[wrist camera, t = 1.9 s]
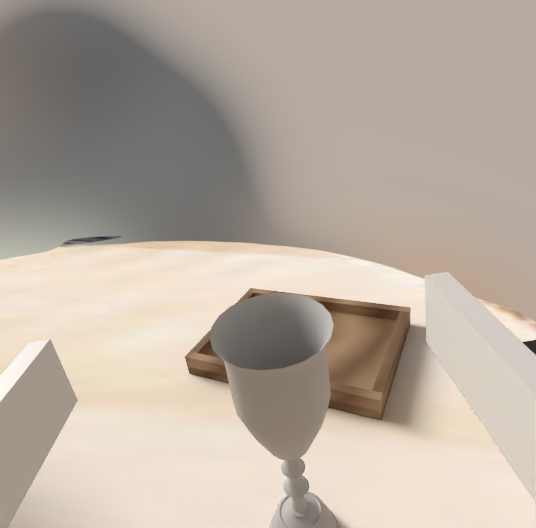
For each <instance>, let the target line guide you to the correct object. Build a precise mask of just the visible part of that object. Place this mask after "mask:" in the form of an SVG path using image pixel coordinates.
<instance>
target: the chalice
mask: <svg viewBox="0 0 536 528" xmlns="http://www.w3.org/2000/svg"><path fill="white" fill-rule="evenodd" d="M333 326H334V324H333V321H332V317H331V314H330V313H329V312H328V310H327V309H326V308H325V307H324V306H323V305H322V304H320V303H319V302H317V301H315V300H313V299H311V298H309V297H305V296H301V295H298V294H290V293H272V294H263V295H259V296H255V297H252V298H248V299H245V300H243V301H241V302H239V303H237V304H235V305H233V306H231V307H230V308H228V309H227V310H226V311H225V312H224V313H222V314H221V315H220V316H219V317H218V319H217V320H216V322H215V323H214V325H213V326H212V329H211V334H210V342H211V345H212V348H213V350H214V351H215V353H216V354H217V355H218V356H219V357H220V358H221V359H222V360H223V361H224V363H225V367H226V372H227V376H228V381H229V385H230V390H231V394H232V398H233V403H234V406H235V409H236V412H237V415H238V416H239V418H240V419H241V420H242V422H243V423H244V424H245V426H246V427H247V429H248V430H249V431H250V433H251V434H252V435H253V436H254V437H255V438H256V440H257V441H258V442H259V443H261V444H262V445H263V446H264V447H265V448H266V449H267V450H268V451H270V452H271V453H272V454H273V455H274V456H276V457H277V458H279V459H282V460H284V462H283V463H282V472H283V474H284V475H285V476H287V477H288V478H287V479H286V480H285V482H284V491H285V493H286V494H287V496H285V497H284V498H283V499H282V500H281V501H280V503H279V504H278V506H277V509H276V511H275V514H274V516H273V518H272V521H271V524H270V528H337V522H336V520H335V518H334V516H333V513H332V512H331V511H330V510H329V509H328V508H327V506H326V505H325V504H324V503H323V502H322V501H321V500H320V498H319V497H318V496H316V495H314V494H313V493H311V492H308V489H309V483H308V481H307V479H306V478H305V477H304V476H302V474H303V472H304V470H305V464H304V462H303V460H302V459H300V457H301V456H303V455H304V454H305V453H306V452H307V450H308V449H309V447H310V445H311V444H312V442H313V440H314V439H315V437H316V435H317V433H318V432H319V430H320V428H321V426H322V424H323V421H324V418H325V415H326V412H327V409H328V406H329V401H330V396H331V391H330V381H329V370H328V359H327V348H326V346H327V344H328V342H329V340H330V338H331V335H332V331H333Z"/></svg>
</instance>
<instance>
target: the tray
mask: <svg viewBox="0 0 536 528" xmlns="http://www.w3.org/2000/svg"><path fill="white" fill-rule="evenodd" d="M272 293H285V292H277V291H269V290H260V289H252V288H250V290H249V291H248V292H247V293H246V294H245V295H244V296H243V297H242V298H241V299H240V300H239V301H238V302H237V303H239V302H241V301H243V300H245V299H248V298H252V297H255V296H259V295H263V294H272ZM290 294H293V293H290ZM298 295H301V296H305V297H309V298H311V299H313V300H315V301H317V302H319V303H320V304H322V305H323V306H324V307H325V308H326V309H327V310H328V312H329V313H330V314H331V317H332V321H333V324H334V326H333V331H332V335H331V338H330V340H329V342H328V344H327V346H326V348H327V359H328V370H329V381H330V391H331V396H330V401H329V406H328V407H330V408H334V409H338V410H342V411H346V412H350V413H354V414H358V415H363V416H367V417H371V418H375V419H379V420H381V419H382V415H383V412H384V409H385V405H386V402H387V399H388V395H389V392H390V389H391V386H392V382H393V379H394V376H395V372H396V369H397V366H398V363H399V359H400V356H401V353H402V349H403V346H404V343H405V339H406V336H407V333H408V330H409V326H410V308H409V307H401V306H393V305H384V304H376V303H368V302H359V301H351V300H343V299H335V298H326V297H318V296H310V295H302V294H298ZM237 303H236V304H237ZM210 334H211V330H210V331H209V332H208V333H207V334H206V335H205V336H204V337H203V339H202V340H201V341H200V342H199V343H198V344H197V345H196V346H195V347H194V348H193V349H192V350H191V351H190V352H189V353H188V354H187V355H186V356H185V359H186V362H187V366H188V370H189V373H190V374H194V375H198V376H203V377H207V378H211V379H215V380H219V381H223V382H227V383H229V381H228V376H227V372H226V367H225V363H224V361H223V360H222V359H221V358H220V357H219V356H218V355H217V354H216V353H215V351H214V350H213V348H212V345H211V342H210Z"/></svg>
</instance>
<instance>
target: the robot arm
mask: <svg viewBox="0 0 536 528" xmlns="http://www.w3.org/2000/svg"><path fill="white" fill-rule="evenodd" d="M425 301H426V343H427V345H428V346H429V347H430V349H431V350H432V352H433V353H434V355H435V356H436V358H437V359H438V361H439V362H440V364H441V365H442V366H443V368H444V369H445V371H446V372H447V374H448V375H449V377H450V378H451V380H452V381H453V383H454V384H455V385H456V387H457V388H458V390H459V391H460V393H461V394H462V396H463V397H464V399H465V400H466V402H467V403H468V404H469V406H470V407H471V409H472V410H473V412H474V413H475V415H476V416H477V418H478V419H479V421H480V422H481V423H482V425H483V426H484V428H485V429H486V431H487V432H488V434H489V435H490V437H491V438H492V440H493V441H494V442H495V444H496V445H497V447H498V448H499V450H500V451H501V453H502V454H503V456H504V457H505V459H506V460H507V461H508V463H509V464H510V466H511V467H512V469H513V470H514V472H515V473H516V475H517V476H518V478H519V479H520V480H521V482H522V483H523V485H524V486H525V488H526V489H527V491H528V492H529V494H530V495H531V497H532V498H533V499H534V501H535V502H536V340H533V341H527V342H521V341H520V340H519V339H518V338H517V337H516V336H515V335H514V334H513V333H512V332H511V331H510V330H509V329H508V328H506V327H505V326H504V325H503V324H502V323H501V322H500V321H499V320H498V319H497V318H496V317H495V316H494V315H493V314H492V313H491V312H490V311H488V310H487V309H486V308H485V307H484V306H483V305H482V304H481V303H480V302H479V301H478V300H477V299H476V298H475V297H474V296H473V295H471V294H470V293H469V292H468V291H467V290H466V289H465V288H464V287H463V286H462V285H461V284H460V283H459V282H458V281H457V280H456V279H454V278H453V277H452V276H451V275H450V274H449V273H448V272H443V273H437V274H431V275H425ZM76 402H77V398H76V396H75V393H74V391H73V389H72V387H71V385H70V382H69V380H68V378H67V376H66V373H65V371H64V369H63V367H62V364H61V362H60V360H59V358H58V355H57V353H56V351H55V349H54V346H53V344H52V342H51V340H50V339H47V340H41V341H35V342H29V343H28V344H27V345H26V347H25V348H24V349H23V350H22V351H21V352H20V354H19V355H18V356H17V357H16V358H15V359H14V360H13V362H12V363H11V364H10V365H9V366H8V367H7V369H6V370H5V371H4V372H3V373H2V374H1V376H0V528H7V527H8V526H9V524H10V522H11V520H12V518H13V517H14V515H15V513H16V511H17V509H18V507H19V506H20V504H21V502H22V500H23V498H24V497H25V495H26V493H27V491H28V489H29V488H30V486H31V484H32V482H33V480H34V478H35V477H36V475H37V473H38V471H39V469H40V468H41V466H42V464H43V462H44V460H45V458H46V457H47V455H48V453H49V451H50V449H51V448H52V446H53V444H54V442H55V440H56V439H57V437H58V435H59V433H60V431H61V429H62V428H63V426H64V424H65V422H66V420H67V419H68V417H69V415H70V413H71V411H72V409H73V408H74V406H75V404H76Z"/></svg>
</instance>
